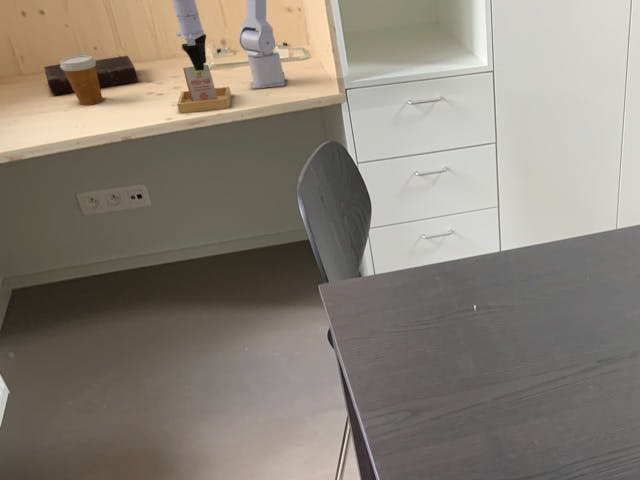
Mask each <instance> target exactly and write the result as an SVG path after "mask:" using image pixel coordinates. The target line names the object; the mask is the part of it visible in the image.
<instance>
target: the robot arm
mask: <svg viewBox="0 0 640 480" xmlns="http://www.w3.org/2000/svg"><path fill="white" fill-rule="evenodd" d="M171 2H172V5H173V8H174V9H173V10H174V12H175V13H174V14H175V16H176V19H177V23H178V27H179V30H180V31H179V32H177V33H176V36H177V37H181V38H183V39H184V40H185V41H186V43H182V44H181V47H182V49H183V51H184V52H185V53H186V54H187V57H189V59H190V62H191V63H192V65H193V66H194V68H195V69H196V71H200V70H204V65H205V64H206V63H207V55H206V41H207V34H206V33H205V32H204V29H203V26H202V21H201V18H200V15H199V11H198V7H197V2H196V0H171ZM240 26H241V28H240V32H239V34H238V44H239V45H240V48H242V49H243V50H244V51H245V55H247V59H248V63H249V69H250V71H251V76H252V89H253V90H255V89H265V88H273V87H282V86H283V87H284V86H285V85H286V84H285V78H286V75H285V72H284V71H283V66H282V60H281V57H280V52H274V51H275V48H276V39H275V36H274V28H273V26H272V25H271V24H270V23H269V22H268V20H267V0H246V17H245V18H244V20H243V21H242V23H241V24H240ZM193 66H192V67H193Z"/></svg>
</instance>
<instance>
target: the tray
mask: <svg viewBox="0 0 640 480" xmlns="http://www.w3.org/2000/svg"><path fill="white" fill-rule="evenodd" d="M215 91H216V95H217V99H215V100H206V101H196V102H192V100H191V97H190V93H189V90H184V91H183V90H182V91H180V95H179V98H178V100H177V103H176V105H177V108H178V112H179V114H185V113H186V114H187V113H192V112H194V113H195V112H203V111H204V112H205V111H212V110H213V111H214V110H222V109H229V108H230V105H231V99H232V93H231V88H230V86H222V87H215Z"/></svg>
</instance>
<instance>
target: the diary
mask: <svg viewBox="0 0 640 480" xmlns="http://www.w3.org/2000/svg"><path fill="white" fill-rule="evenodd" d="M94 60H95V59H94ZM95 61H96V63H95V64H96V65H95V67H96V71H97V76H98V81H99V85H100V88H103V87H104V88H105V87H109V86H115V85H118V84H119V85H120V84H127V83H135V82H139V78H138V74H137V71H136V68H135V66H134V64H133V62H132V60H131V59H130V57H129V56H128V55H122V56H116V57H109V58H102V59H96V60H95ZM60 66H61V63H59V64H52V65H47V66H44V67H43V68H44V73H45V77H46V81H47V84H48V87H49V90H50V92H51V95H53V96H56V95H60V94H66V93H71V92H74V90H73V88H72V86H71V84H70V82H69V80H68V78H67V76H66V74H65V72H64V70H62V68H61V67H60Z"/></svg>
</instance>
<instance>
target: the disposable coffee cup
mask: <svg viewBox="0 0 640 480" xmlns="http://www.w3.org/2000/svg"><path fill="white" fill-rule="evenodd" d="M95 63H96V61H95V59H94V57H93V56H92V55H85V54H84V55H74V56H69V57H66V58H62V59H61V60H60V64H61V66H60V67H61V68H62V70H64V72H65V74H66V76H67V78H68V80H69V82H70V84H71V86H72V88H73V90H74V91H73V92H74V94H75V96H76V98H77V100H78V102H79V104H80V105H84V106H87V105H88V106H89V105H94V104H98V103H101V102H103V96H102V90H101V87H100V85H99V81H98V76H97V71H96V67H95V65H96V64H95Z"/></svg>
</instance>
